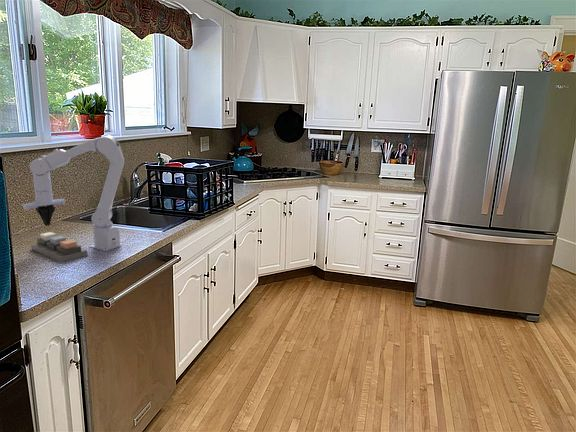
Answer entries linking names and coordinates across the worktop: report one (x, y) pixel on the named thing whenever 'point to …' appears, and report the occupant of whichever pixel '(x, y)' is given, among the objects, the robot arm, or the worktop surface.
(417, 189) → the worktop surface
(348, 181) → the worktop surface
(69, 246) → the terracotta key
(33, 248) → the key panel
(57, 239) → the slate blue key
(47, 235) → the off-white key
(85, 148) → the robot arm
